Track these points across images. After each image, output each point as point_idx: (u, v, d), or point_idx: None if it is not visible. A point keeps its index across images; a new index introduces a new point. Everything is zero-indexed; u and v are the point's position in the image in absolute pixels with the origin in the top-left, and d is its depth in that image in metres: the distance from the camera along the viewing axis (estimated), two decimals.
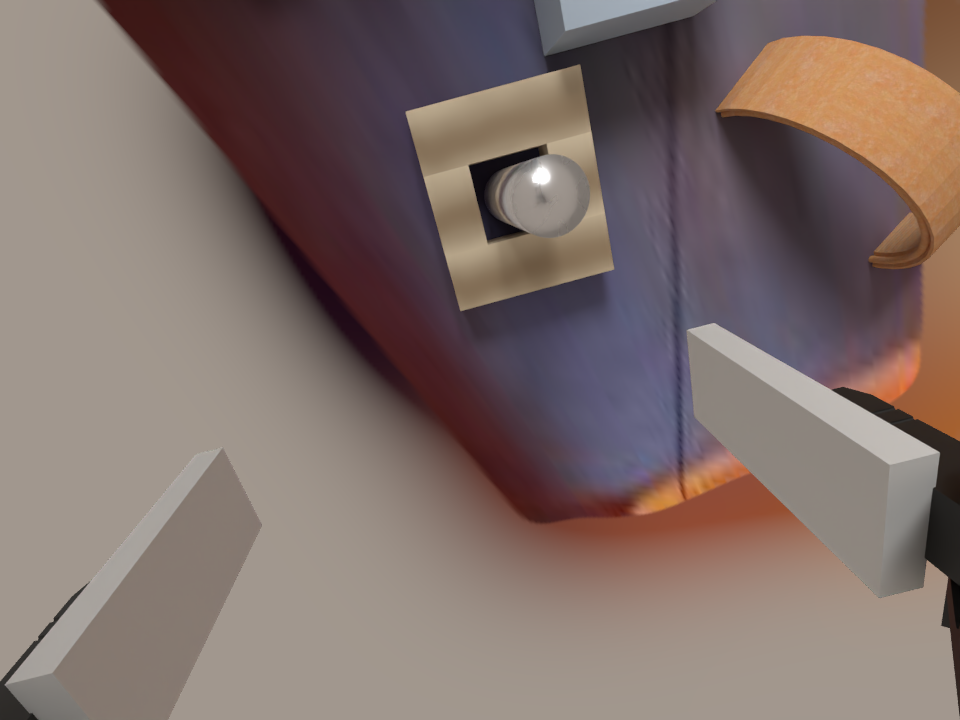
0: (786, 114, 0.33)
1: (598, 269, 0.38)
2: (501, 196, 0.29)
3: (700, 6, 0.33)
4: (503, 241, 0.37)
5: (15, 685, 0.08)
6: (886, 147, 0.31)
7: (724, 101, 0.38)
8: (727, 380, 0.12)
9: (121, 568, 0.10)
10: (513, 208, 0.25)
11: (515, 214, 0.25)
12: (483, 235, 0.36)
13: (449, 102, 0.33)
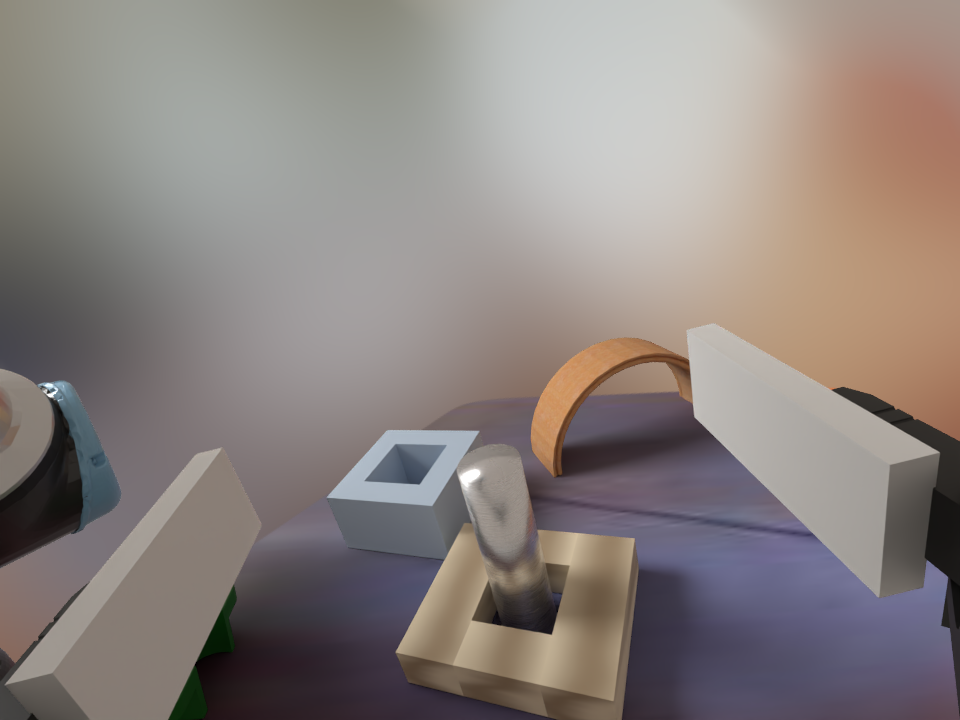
0: (562, 420, 0.49)
1: (628, 549, 0.36)
2: (483, 533, 0.31)
3: None
4: (557, 619, 0.33)
5: (15, 685, 0.08)
6: (597, 369, 0.49)
7: (550, 471, 0.51)
8: (727, 380, 0.12)
9: (121, 568, 0.10)
10: (478, 484, 0.29)
11: (483, 484, 0.29)
12: (540, 635, 0.32)
13: (418, 613, 0.35)
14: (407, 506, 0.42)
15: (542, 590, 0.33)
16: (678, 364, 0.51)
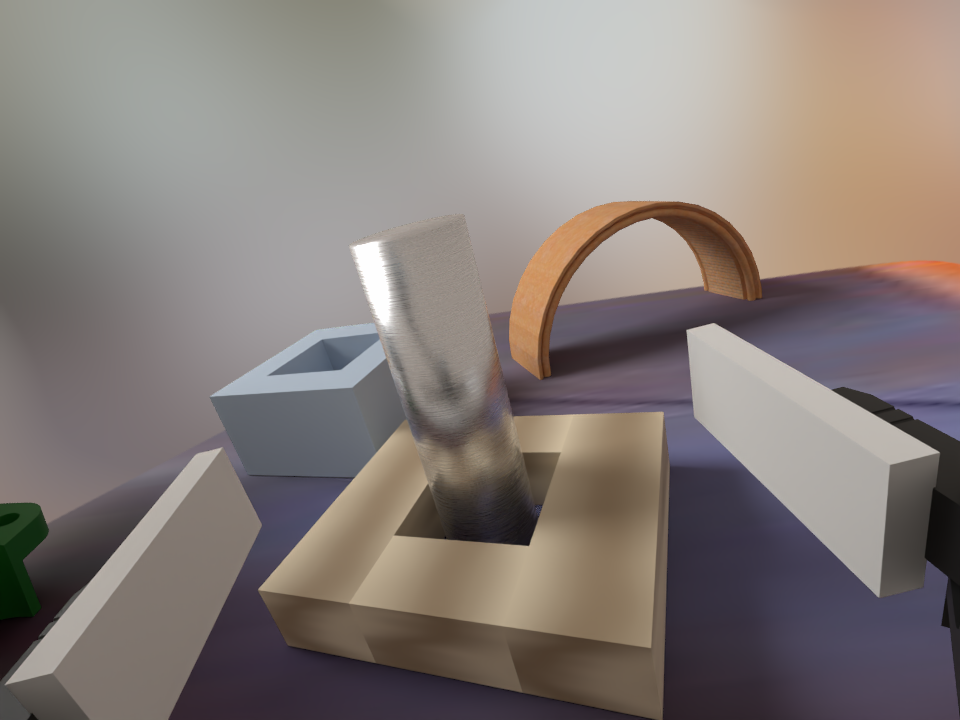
0: (548, 293, 0.35)
1: (655, 425, 0.22)
2: (401, 359, 0.17)
3: None
4: (538, 523, 0.19)
5: (15, 685, 0.08)
6: (596, 224, 0.36)
7: (535, 372, 0.37)
8: (727, 380, 0.12)
9: (121, 568, 0.10)
10: (379, 244, 0.15)
11: (388, 242, 0.15)
12: (508, 547, 0.18)
13: (310, 532, 0.21)
14: (317, 394, 0.28)
15: (513, 477, 0.19)
16: (707, 222, 0.37)
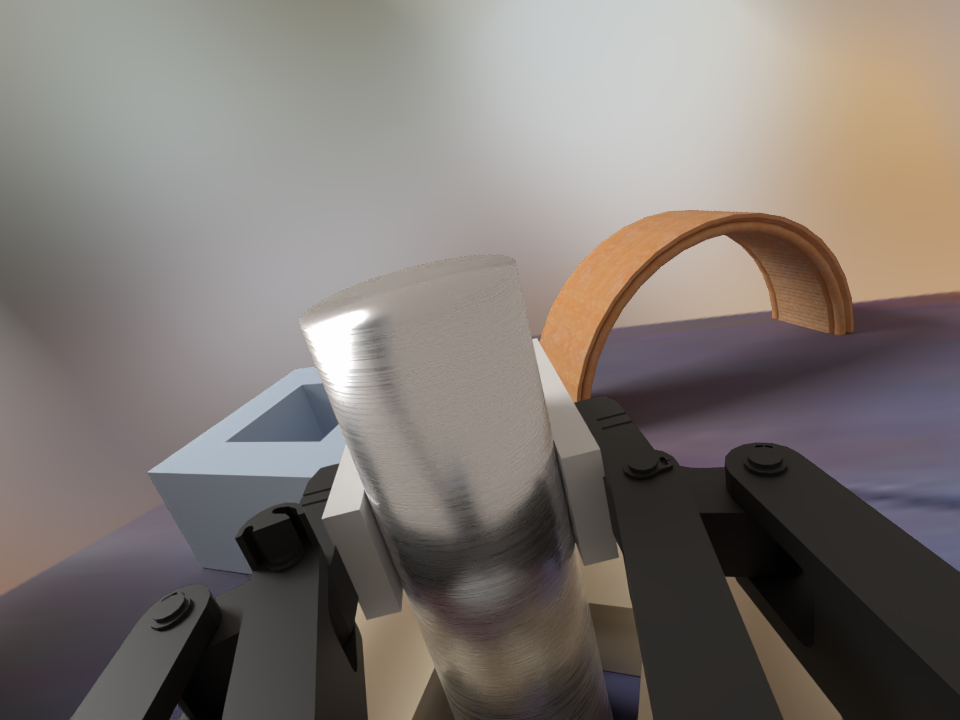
0: (591, 332, 0.27)
1: None
2: (397, 526, 0.09)
3: None
4: None
5: (329, 519, 0.10)
6: (653, 242, 0.27)
7: None
8: None
9: None
10: (352, 330, 0.08)
11: (370, 327, 0.07)
12: None
13: None
14: (285, 482, 0.20)
15: (588, 693, 0.11)
16: (794, 239, 0.29)
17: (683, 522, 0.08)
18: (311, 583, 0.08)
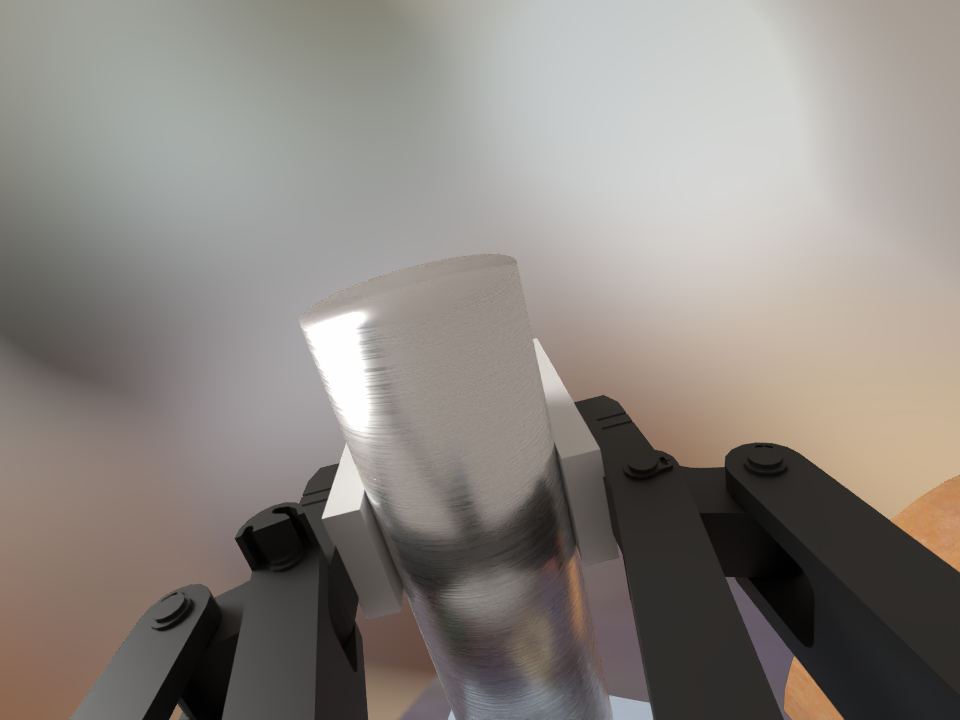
0: None
1: None
2: (397, 527, 0.09)
3: None
4: None
5: (329, 519, 0.10)
6: None
7: None
8: None
9: None
10: (352, 330, 0.08)
11: (370, 327, 0.07)
12: None
13: None
14: None
15: (588, 693, 0.11)
16: None
17: (683, 522, 0.08)
18: (311, 583, 0.08)
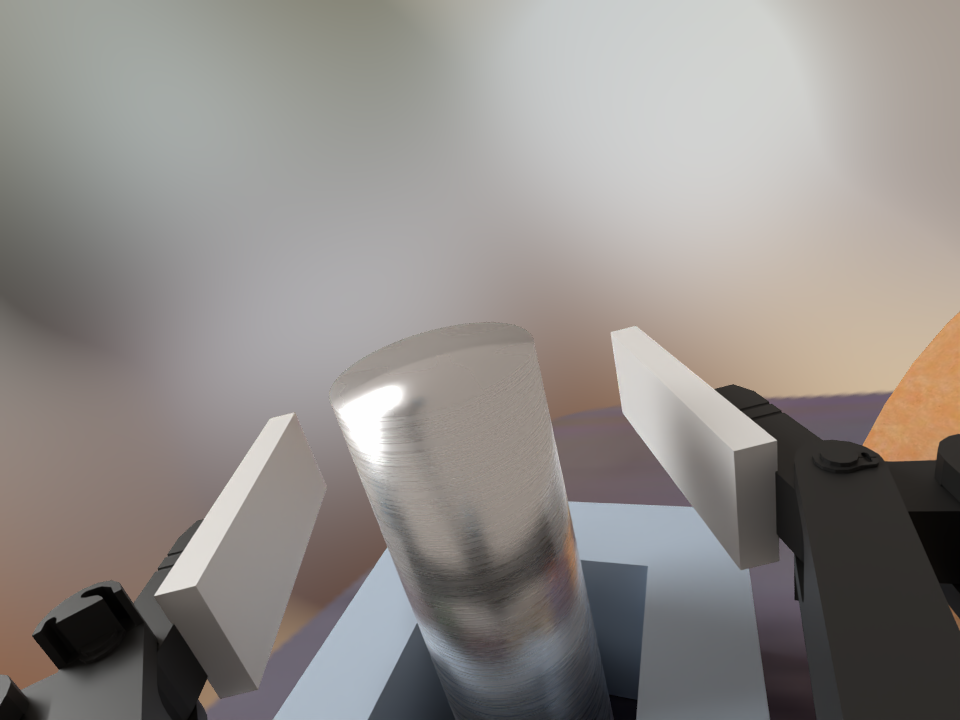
0: None
1: None
2: (420, 588, 0.10)
3: None
4: None
5: (163, 596, 0.09)
6: None
7: None
8: (638, 378, 0.13)
9: (230, 508, 0.11)
10: (383, 417, 0.08)
11: (401, 415, 0.08)
12: None
13: None
14: None
15: None
16: None
17: (890, 527, 0.07)
18: (134, 665, 0.08)
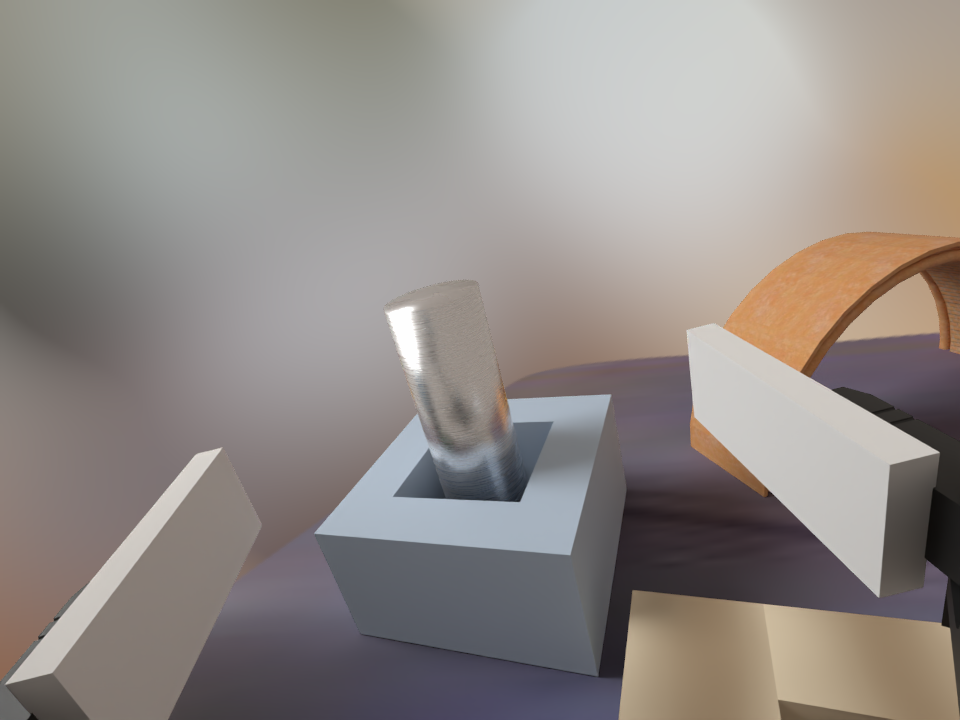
0: None
1: None
2: (426, 402, 0.21)
3: (618, 458, 0.26)
4: None
5: (16, 685, 0.08)
6: (860, 273, 0.24)
7: (752, 483, 0.26)
8: (727, 380, 0.12)
9: (121, 568, 0.10)
10: (410, 313, 0.19)
11: (417, 312, 0.19)
12: None
13: None
14: (502, 556, 0.18)
15: (519, 497, 0.23)
16: None
17: None
18: None
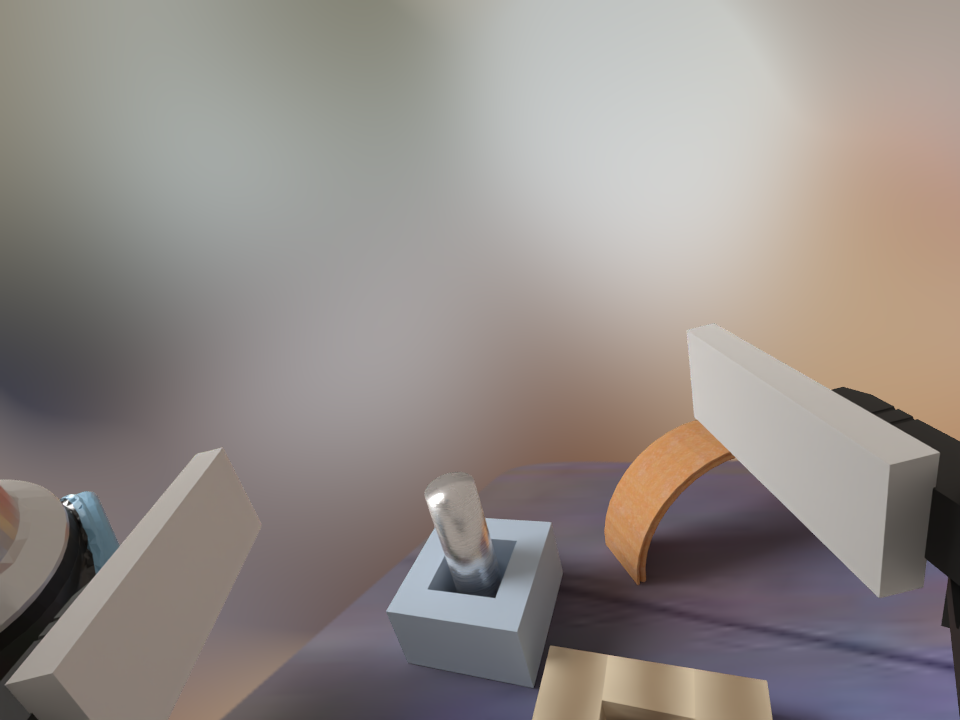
0: (649, 521, 0.42)
1: (763, 698, 0.31)
2: (446, 543, 0.39)
3: (556, 558, 0.45)
4: None
5: (15, 685, 0.08)
6: (689, 462, 0.42)
7: (632, 576, 0.44)
8: (727, 380, 0.12)
9: (121, 568, 0.10)
10: (439, 505, 0.38)
11: (443, 505, 0.38)
12: None
13: None
14: (485, 629, 0.37)
15: (496, 588, 0.42)
16: None
17: None
18: None
